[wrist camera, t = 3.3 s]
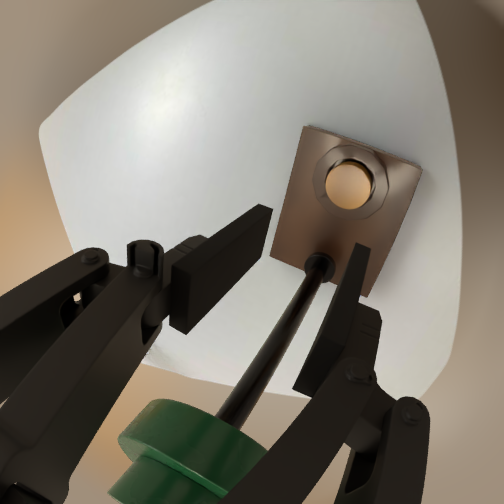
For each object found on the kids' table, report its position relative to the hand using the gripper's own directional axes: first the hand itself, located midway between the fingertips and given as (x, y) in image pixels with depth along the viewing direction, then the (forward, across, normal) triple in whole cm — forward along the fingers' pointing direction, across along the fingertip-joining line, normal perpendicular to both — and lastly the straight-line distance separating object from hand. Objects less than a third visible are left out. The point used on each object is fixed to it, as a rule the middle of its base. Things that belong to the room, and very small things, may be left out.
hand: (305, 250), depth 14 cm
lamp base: (+19, 0, -4) cm, 19 cm away
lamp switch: (+15, 0, 0) cm, 15 cm away
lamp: (+15, 0, -11) cm, 18 cm away
